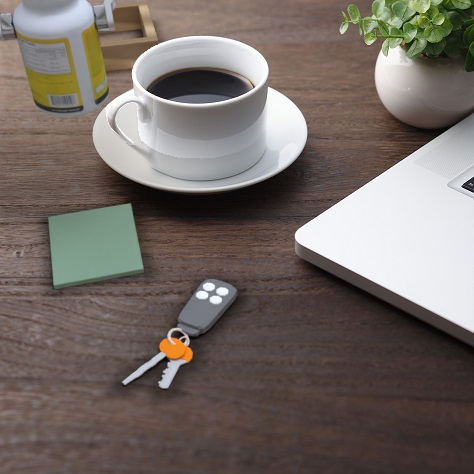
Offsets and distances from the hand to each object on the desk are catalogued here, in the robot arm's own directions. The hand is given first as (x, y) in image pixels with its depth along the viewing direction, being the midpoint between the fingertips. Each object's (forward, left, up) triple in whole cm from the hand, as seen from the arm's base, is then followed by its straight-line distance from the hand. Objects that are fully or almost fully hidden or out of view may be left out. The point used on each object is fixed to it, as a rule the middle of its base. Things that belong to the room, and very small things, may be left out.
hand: (57, 33), depth 68 cm
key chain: (+14, -12, -21) cm, 28 cm away
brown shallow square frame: (-14, +32, -20) cm, 41 cm away
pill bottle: (0, +1, -7) cm, 7 cm away
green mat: (+1, -4, -20) cm, 21 cm away
